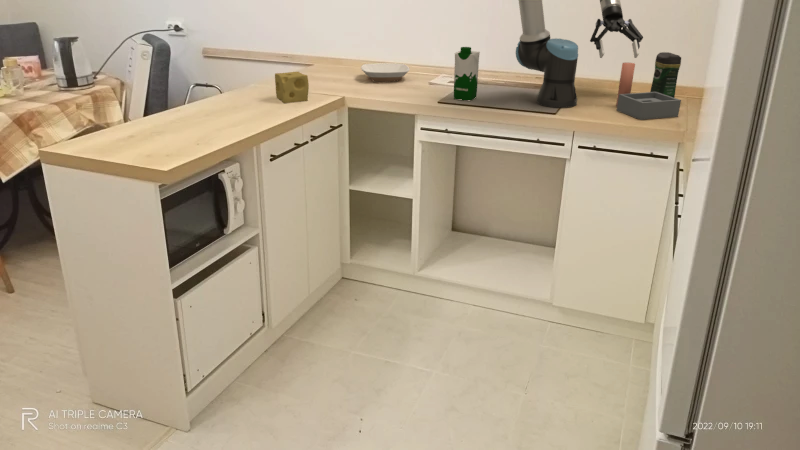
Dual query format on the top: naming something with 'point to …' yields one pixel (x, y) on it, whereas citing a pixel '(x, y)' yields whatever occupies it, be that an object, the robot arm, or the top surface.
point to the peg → (626, 79)
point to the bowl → (385, 71)
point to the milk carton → (466, 74)
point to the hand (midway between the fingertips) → (619, 56)
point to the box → (648, 105)
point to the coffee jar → (666, 73)
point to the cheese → (291, 87)
